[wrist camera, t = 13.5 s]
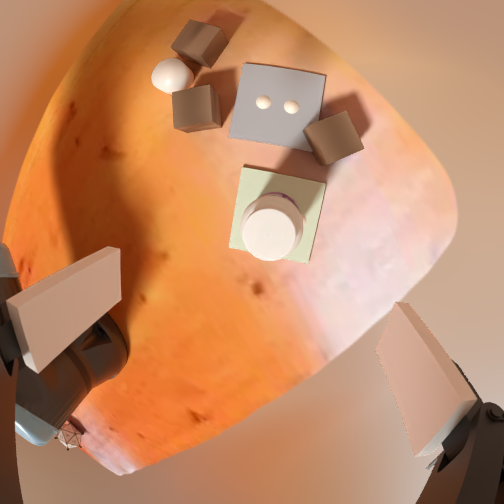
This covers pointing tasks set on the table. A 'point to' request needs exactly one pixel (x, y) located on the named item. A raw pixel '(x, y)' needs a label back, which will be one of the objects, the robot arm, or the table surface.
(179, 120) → the cube
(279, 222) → the pill bottle
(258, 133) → the pad two
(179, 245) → the table surface
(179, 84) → the white cap
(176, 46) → the cube
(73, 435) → the game die
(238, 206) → the pad three
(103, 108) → the table surface
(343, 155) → the cube
